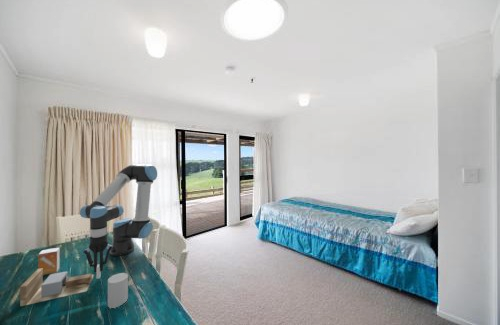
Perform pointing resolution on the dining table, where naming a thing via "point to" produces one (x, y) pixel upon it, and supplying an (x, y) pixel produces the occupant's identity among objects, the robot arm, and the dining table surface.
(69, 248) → the dining table surface
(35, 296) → the jig
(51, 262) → the small box
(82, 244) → the dining table surface
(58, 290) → the carriage
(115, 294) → the light gray cylinder
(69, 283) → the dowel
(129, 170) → the robot arm
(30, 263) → the dining table surface
